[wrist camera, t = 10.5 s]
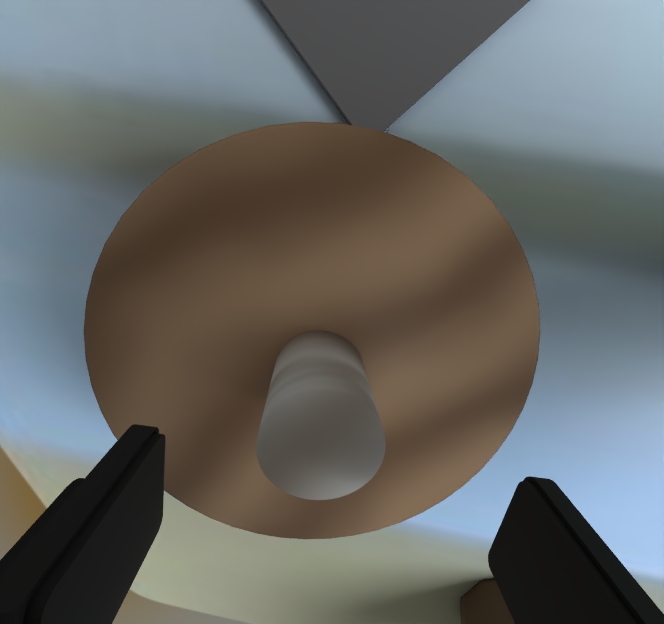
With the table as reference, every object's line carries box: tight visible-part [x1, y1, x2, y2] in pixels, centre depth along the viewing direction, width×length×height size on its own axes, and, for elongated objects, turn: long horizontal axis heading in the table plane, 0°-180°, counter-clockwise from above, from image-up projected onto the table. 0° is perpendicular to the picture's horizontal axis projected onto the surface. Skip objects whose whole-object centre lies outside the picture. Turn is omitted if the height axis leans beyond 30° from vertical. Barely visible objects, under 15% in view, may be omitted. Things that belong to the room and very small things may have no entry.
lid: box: [84, 122, 540, 539], centre depth 13 cm, size 20×20×6 cm
